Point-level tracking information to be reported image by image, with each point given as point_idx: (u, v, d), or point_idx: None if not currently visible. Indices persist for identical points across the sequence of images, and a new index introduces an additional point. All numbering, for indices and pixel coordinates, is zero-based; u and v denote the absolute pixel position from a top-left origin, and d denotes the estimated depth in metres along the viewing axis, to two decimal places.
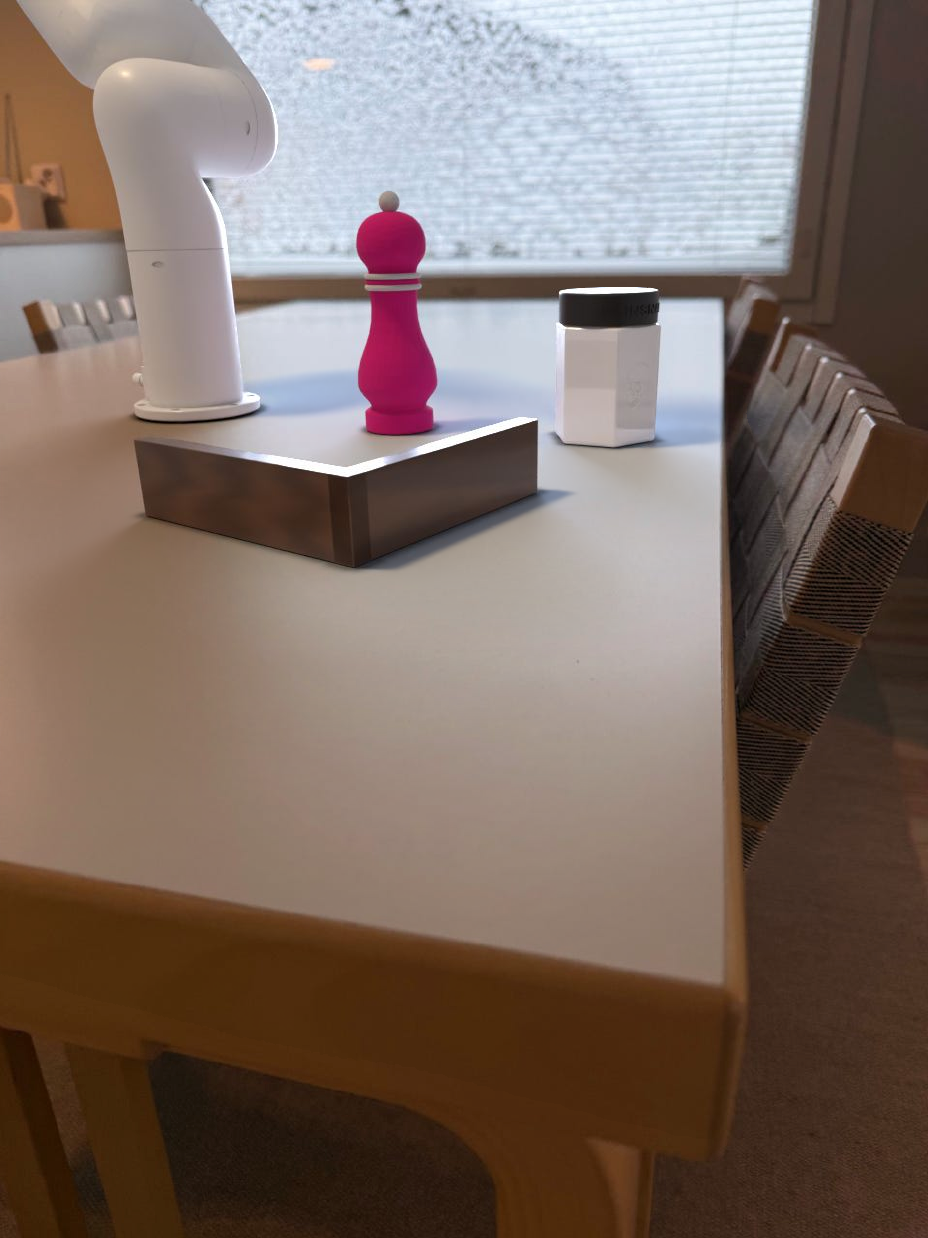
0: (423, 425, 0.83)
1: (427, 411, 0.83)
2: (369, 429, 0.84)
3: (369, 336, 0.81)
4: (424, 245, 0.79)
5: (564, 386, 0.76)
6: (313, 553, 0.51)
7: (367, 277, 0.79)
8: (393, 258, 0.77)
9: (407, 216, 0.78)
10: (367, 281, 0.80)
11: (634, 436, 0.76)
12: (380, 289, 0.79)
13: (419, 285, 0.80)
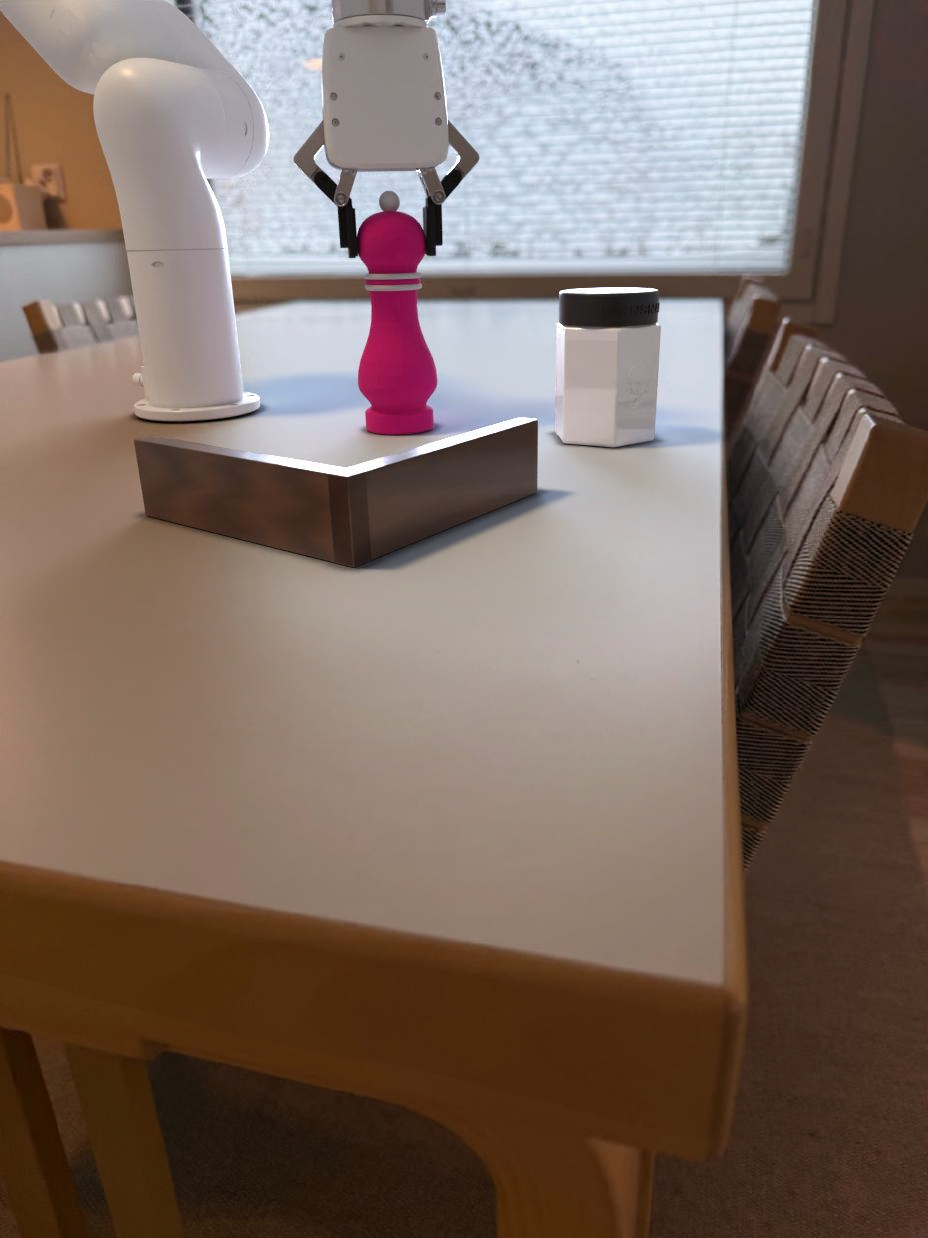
0: (423, 425, 0.83)
1: (427, 411, 0.83)
2: (369, 429, 0.84)
3: (369, 336, 0.81)
4: (424, 245, 0.79)
5: (564, 386, 0.76)
6: (313, 553, 0.51)
7: (367, 277, 0.79)
8: (394, 257, 0.77)
9: (407, 216, 0.78)
10: (367, 281, 0.80)
11: (634, 436, 0.76)
12: (380, 289, 0.79)
13: (419, 285, 0.80)
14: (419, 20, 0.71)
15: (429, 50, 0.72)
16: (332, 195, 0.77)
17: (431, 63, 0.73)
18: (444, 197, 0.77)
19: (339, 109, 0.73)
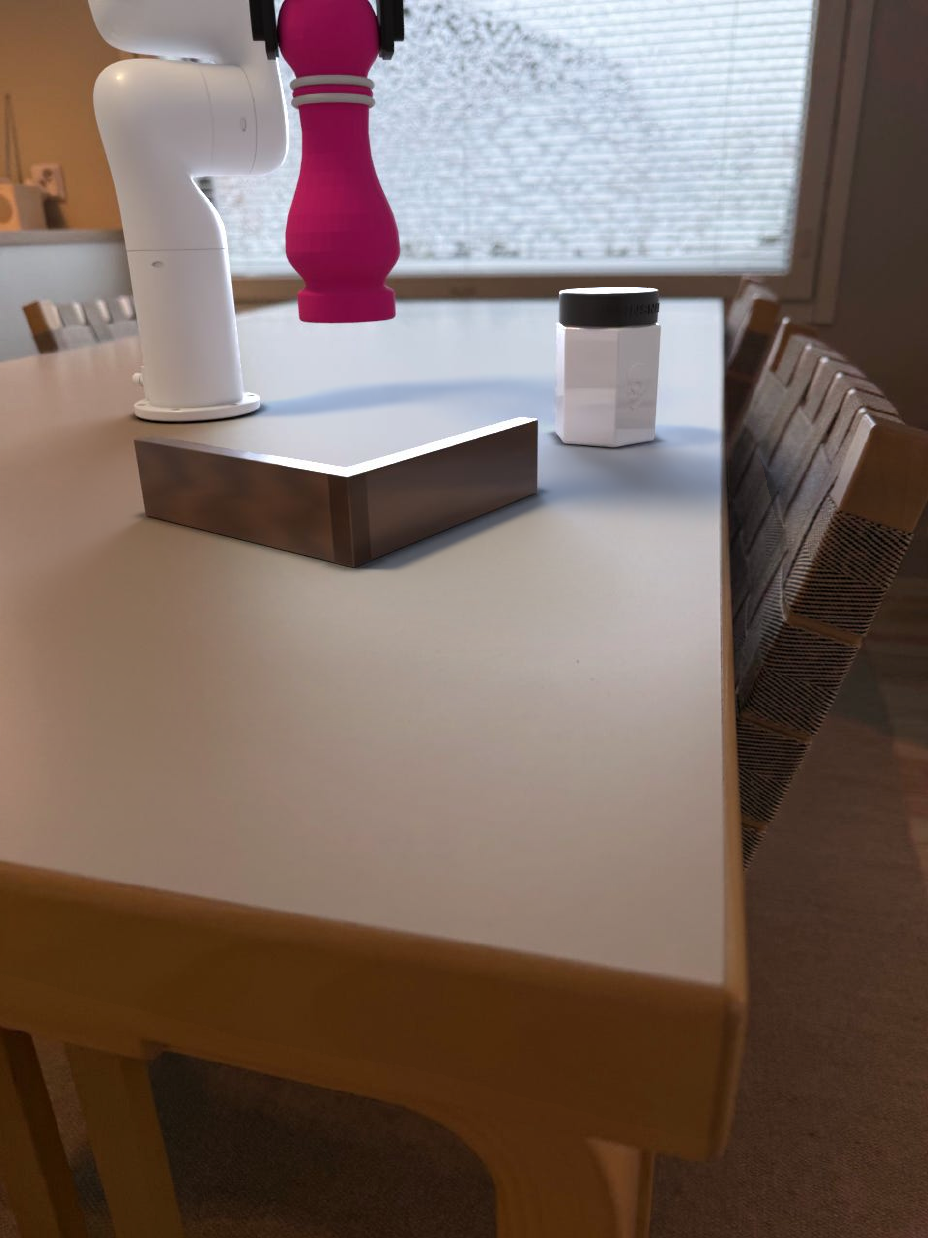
0: (379, 311, 0.58)
1: (385, 290, 0.58)
2: (302, 318, 0.58)
3: (299, 177, 0.56)
4: (377, 35, 0.53)
5: (564, 386, 0.76)
6: (313, 553, 0.51)
7: (293, 83, 0.54)
8: (330, 47, 0.52)
9: None
10: (294, 91, 0.54)
11: (634, 436, 0.76)
12: (312, 99, 0.53)
13: (371, 98, 0.54)
14: None
15: None
16: None
17: None
18: None
19: None
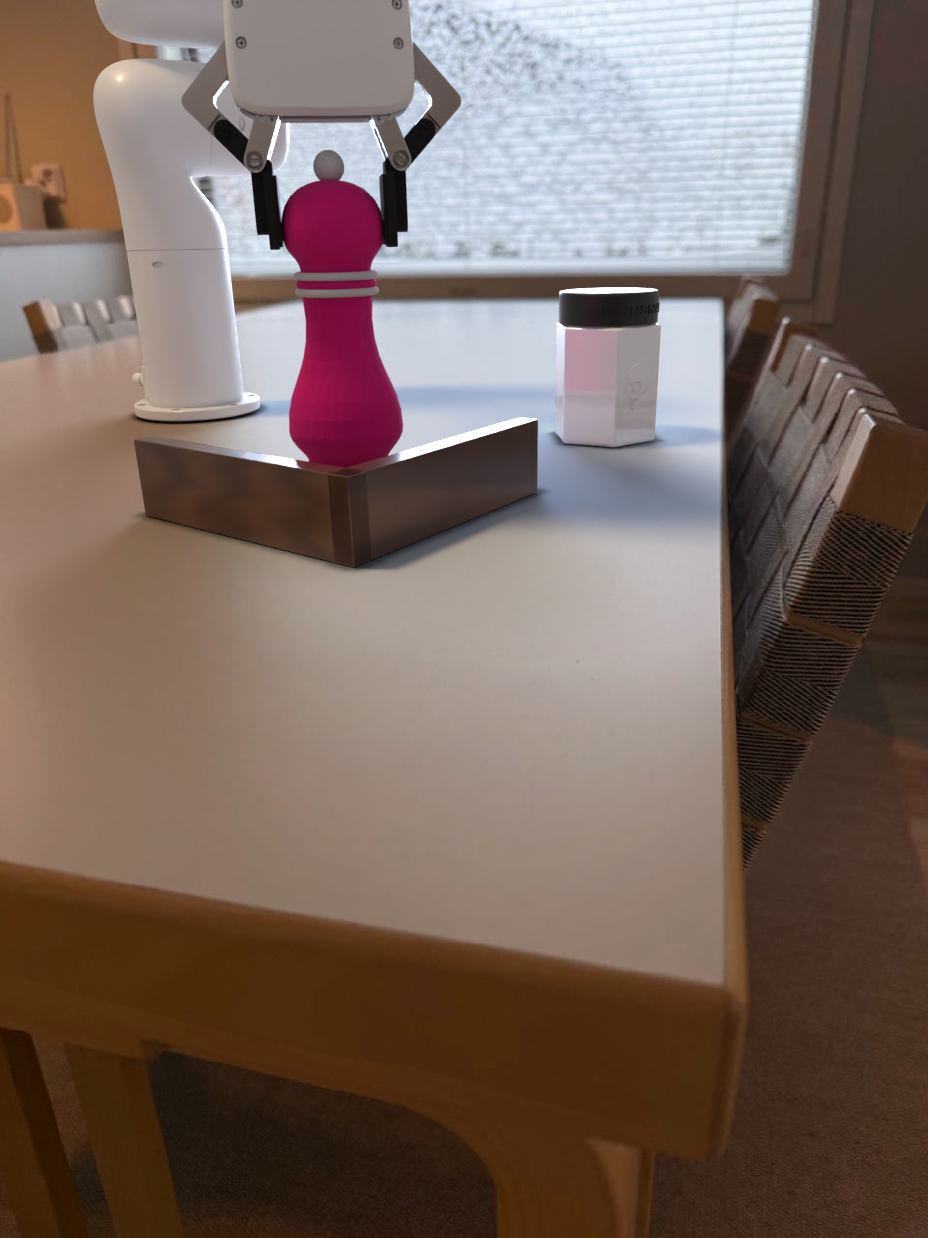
0: None
1: None
2: None
3: (303, 363, 0.56)
4: (381, 231, 0.54)
5: (564, 386, 0.76)
6: (313, 553, 0.51)
7: (298, 277, 0.54)
8: (334, 249, 0.52)
9: (355, 188, 0.52)
10: (298, 283, 0.54)
11: (634, 436, 0.76)
12: (316, 295, 0.54)
13: (374, 289, 0.55)
14: None
15: None
16: (242, 156, 0.51)
17: None
18: (409, 160, 0.52)
19: (246, 23, 0.48)
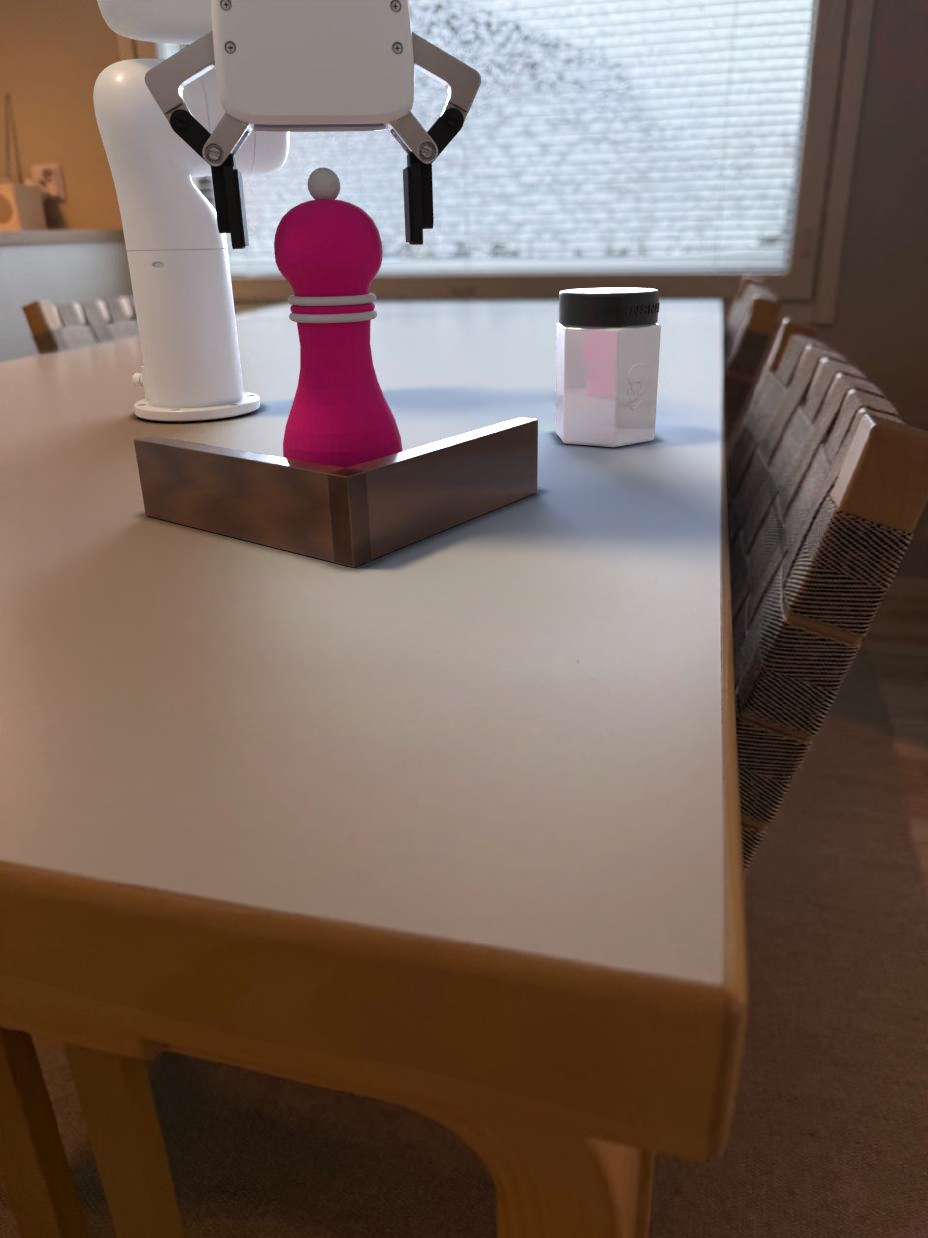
0: None
1: None
2: None
3: (298, 390, 0.54)
4: (379, 252, 0.51)
5: (564, 386, 0.76)
6: (313, 553, 0.51)
7: (291, 302, 0.51)
8: (330, 272, 0.49)
9: (352, 207, 0.50)
10: (292, 308, 0.52)
11: (634, 436, 0.76)
12: (311, 320, 0.51)
13: (372, 314, 0.52)
14: None
15: None
16: (201, 148, 0.48)
17: None
18: (436, 152, 0.49)
19: (236, 27, 0.45)
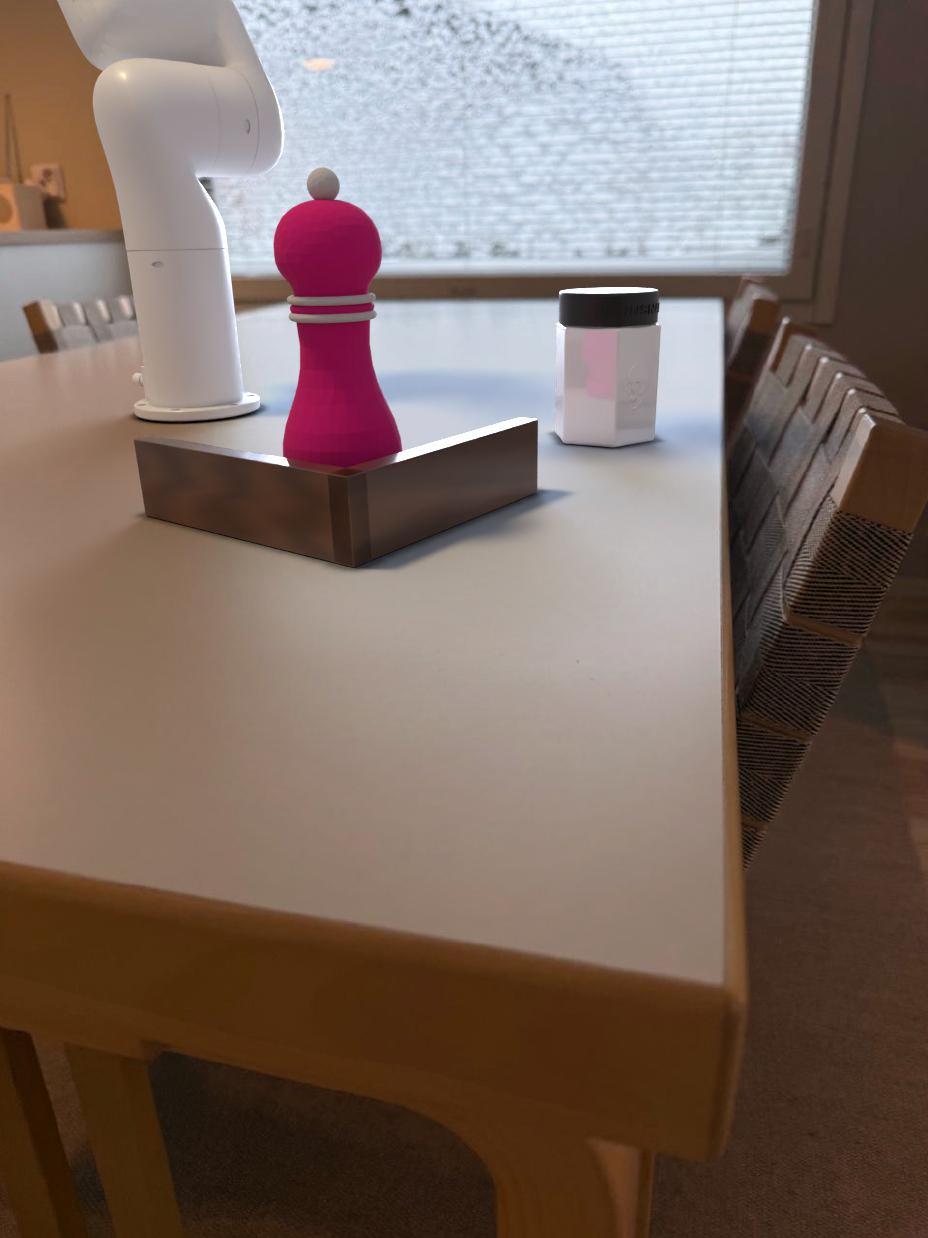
0: None
1: None
2: None
3: (297, 390, 0.54)
4: (378, 252, 0.51)
5: (564, 386, 0.76)
6: (313, 553, 0.51)
7: (291, 302, 0.51)
8: (329, 272, 0.49)
9: (351, 207, 0.50)
10: (292, 308, 0.52)
11: (634, 436, 0.76)
12: (310, 320, 0.51)
13: (372, 314, 0.52)
14: None
15: None
16: None
17: None
18: None
19: None
